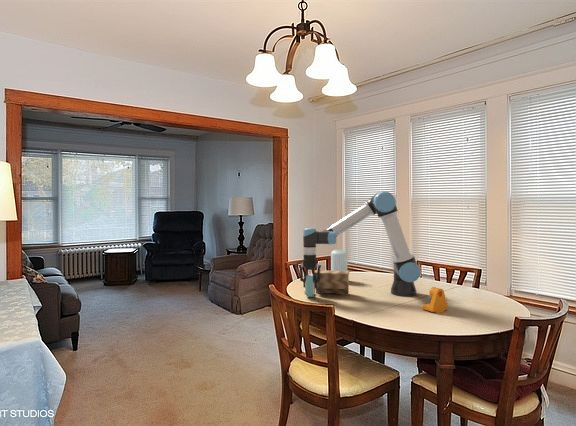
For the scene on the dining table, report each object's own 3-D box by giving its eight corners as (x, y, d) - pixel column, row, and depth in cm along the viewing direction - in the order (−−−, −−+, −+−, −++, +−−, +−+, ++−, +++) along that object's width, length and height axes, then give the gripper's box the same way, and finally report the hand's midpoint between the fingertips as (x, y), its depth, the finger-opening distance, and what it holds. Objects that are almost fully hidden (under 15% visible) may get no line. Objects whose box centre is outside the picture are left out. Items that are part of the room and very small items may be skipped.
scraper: (315, 292, 230) (315, 273, 230) (312, 296, 220) (312, 276, 219) (309, 292, 231) (309, 272, 231) (306, 296, 221) (306, 276, 220)
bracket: (436, 307, 199) (436, 284, 198) (447, 310, 192) (447, 287, 192) (421, 310, 194) (421, 287, 193) (432, 313, 187) (432, 290, 187)
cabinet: (349, 293, 230) (349, 271, 229) (348, 296, 222) (348, 273, 221) (315, 291, 235) (315, 270, 234) (313, 295, 226) (313, 272, 226)
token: (312, 293, 231) (312, 290, 231) (310, 295, 227) (310, 292, 227) (305, 293, 233) (305, 290, 233) (303, 294, 228) (303, 291, 228)
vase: (328, 280, 270) (328, 249, 269) (342, 279, 273) (342, 248, 272) (335, 283, 259) (335, 251, 258) (350, 282, 262) (350, 250, 261)
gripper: (324, 253, 223) (325, 292, 224) (297, 252, 227) (297, 290, 228) (323, 255, 216) (323, 295, 216) (294, 254, 220) (294, 293, 220)
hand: (310, 292), depth 222 cm, fingers closed on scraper, 4 cm apart
